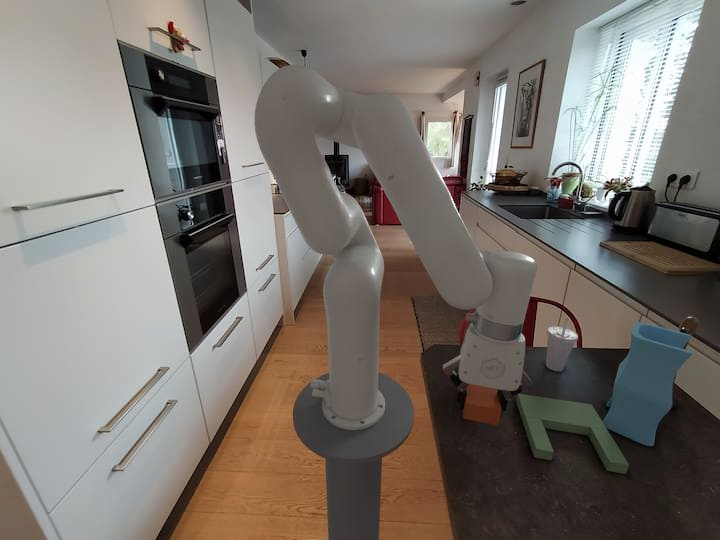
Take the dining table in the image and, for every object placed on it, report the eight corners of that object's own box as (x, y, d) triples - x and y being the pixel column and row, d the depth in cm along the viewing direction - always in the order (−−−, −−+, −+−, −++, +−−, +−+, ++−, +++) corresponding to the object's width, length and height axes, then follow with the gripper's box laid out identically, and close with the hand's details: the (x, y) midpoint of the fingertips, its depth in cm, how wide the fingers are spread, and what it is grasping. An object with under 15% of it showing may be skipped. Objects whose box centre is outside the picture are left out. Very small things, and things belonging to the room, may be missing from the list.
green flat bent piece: (533, 457, 56) (536, 448, 56) (515, 401, 69) (517, 393, 68) (626, 474, 53) (629, 465, 53) (589, 412, 66) (591, 404, 66)
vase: (653, 449, 58) (693, 354, 51) (600, 425, 63) (630, 336, 56) (655, 423, 63) (691, 334, 57) (606, 404, 68) (634, 320, 62)
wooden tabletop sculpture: (667, 413, 66) (703, 326, 59) (639, 399, 70) (670, 316, 63) (678, 402, 69) (713, 319, 62) (651, 389, 73) (681, 309, 66)
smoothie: (541, 371, 79) (553, 319, 74) (538, 356, 84) (549, 308, 80) (571, 377, 77) (586, 325, 72) (566, 362, 82) (579, 312, 77)
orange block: (463, 418, 59) (466, 403, 58) (461, 396, 65) (463, 381, 63) (498, 425, 58) (501, 410, 57) (492, 402, 63) (496, 387, 62)
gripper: (446, 327, 53) (432, 413, 59) (560, 344, 50) (533, 433, 56) (445, 307, 60) (432, 386, 66) (545, 321, 57) (523, 403, 63)
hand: (479, 407), depth 61 cm, fingers closed on orange block, 6 cm apart
